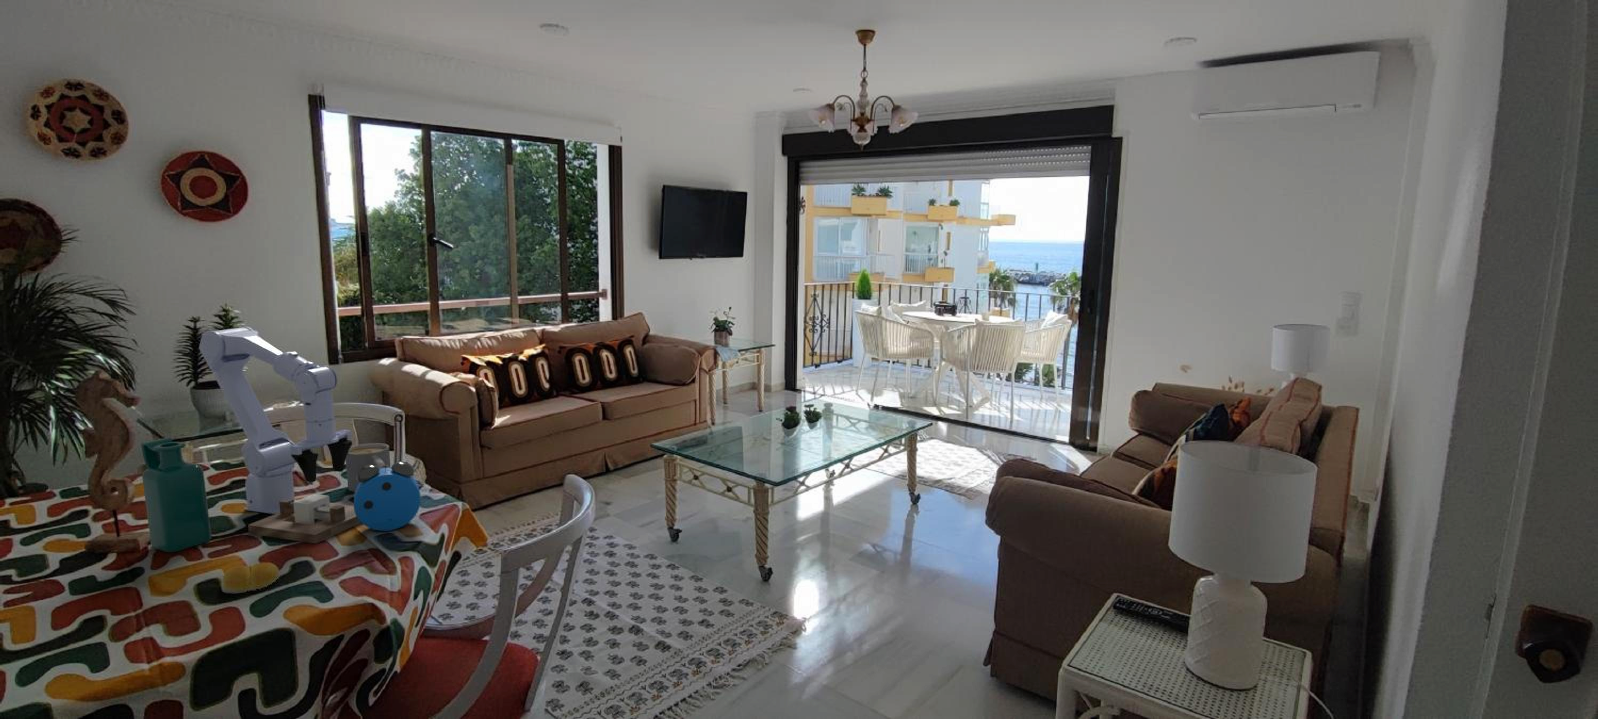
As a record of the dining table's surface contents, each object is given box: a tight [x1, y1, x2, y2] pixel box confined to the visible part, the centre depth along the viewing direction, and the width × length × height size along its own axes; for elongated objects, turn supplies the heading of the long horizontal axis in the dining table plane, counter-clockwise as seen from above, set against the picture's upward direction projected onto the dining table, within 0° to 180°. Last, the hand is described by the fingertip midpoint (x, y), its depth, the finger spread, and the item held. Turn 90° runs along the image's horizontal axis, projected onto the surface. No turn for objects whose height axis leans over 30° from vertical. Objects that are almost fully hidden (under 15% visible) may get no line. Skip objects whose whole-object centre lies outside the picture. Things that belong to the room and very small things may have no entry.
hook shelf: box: [247, 499, 362, 544], centre depth 173 cm, size 18×16×5 cm
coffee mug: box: [345, 442, 392, 493], centre depth 197 cm, size 13×10×10 cm
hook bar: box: [288, 502, 331, 514], centre depth 172 cm, size 14×1×1 cm, turn 76°
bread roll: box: [220, 562, 280, 594], centre depth 145 cm, size 8×9×4 cm
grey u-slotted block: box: [293, 493, 331, 525], centre depth 173 cm, size 4×6×6 cm
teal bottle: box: [140, 437, 212, 553], centre depth 160 cm, size 10×8×22 cm
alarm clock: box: [353, 460, 422, 532], centre depth 172 cm, size 13×6×15 cm, turn 119°
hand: (325, 476), depth 178 cm, fingers open, 7 cm apart
